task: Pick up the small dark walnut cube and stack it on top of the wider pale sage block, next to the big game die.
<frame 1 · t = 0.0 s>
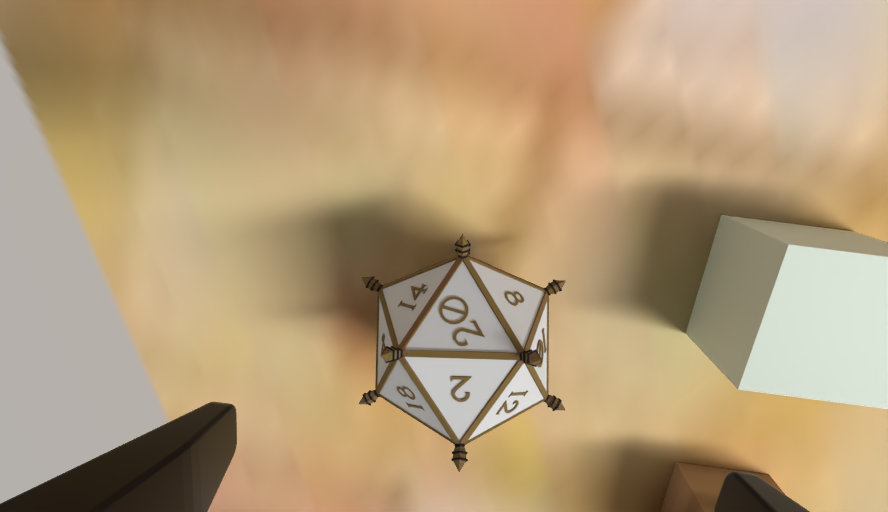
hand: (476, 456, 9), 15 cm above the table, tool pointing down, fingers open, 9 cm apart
walnut block: (708, 503, 27), on the table
game die: (463, 302, 24), on the table
sage block: (764, 283, 23), on the table
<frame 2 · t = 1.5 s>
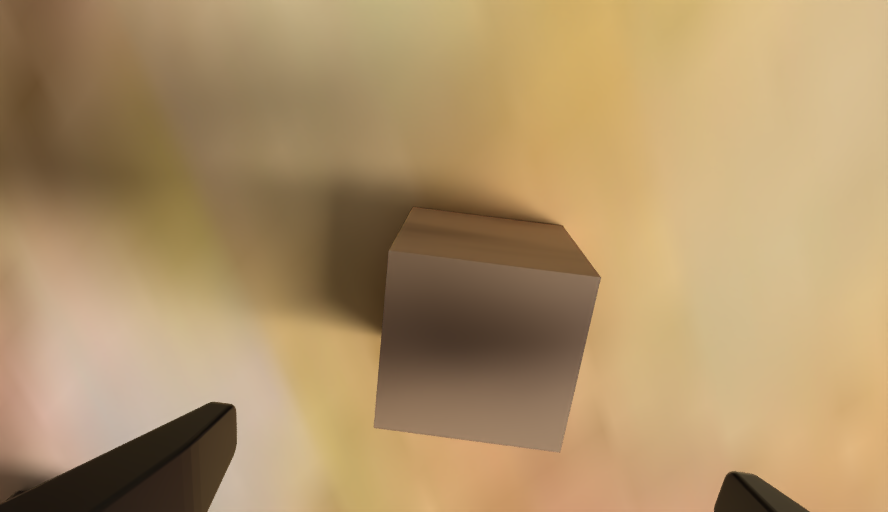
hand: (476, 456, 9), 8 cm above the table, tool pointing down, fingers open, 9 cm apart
walnut block: (477, 285, 17), on the table
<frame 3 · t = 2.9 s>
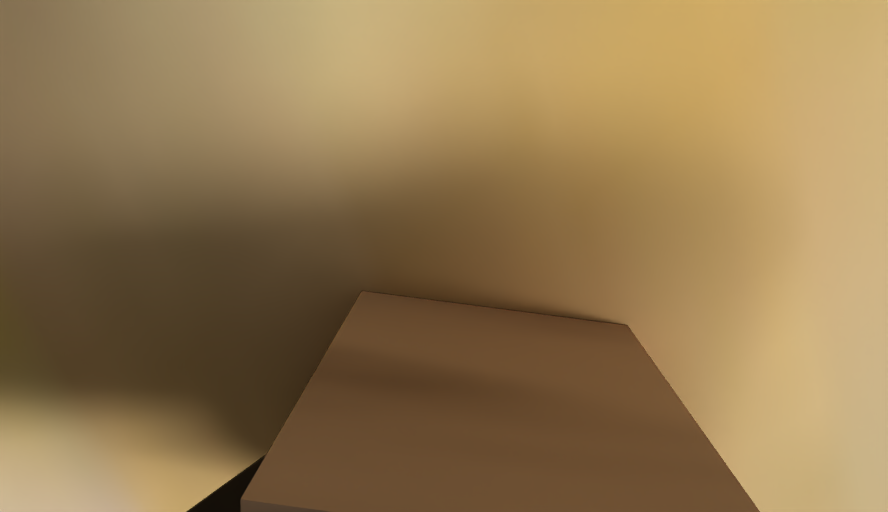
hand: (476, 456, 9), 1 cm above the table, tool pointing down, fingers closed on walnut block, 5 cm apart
walnut block: (475, 420, 10), on the table, touching gripper
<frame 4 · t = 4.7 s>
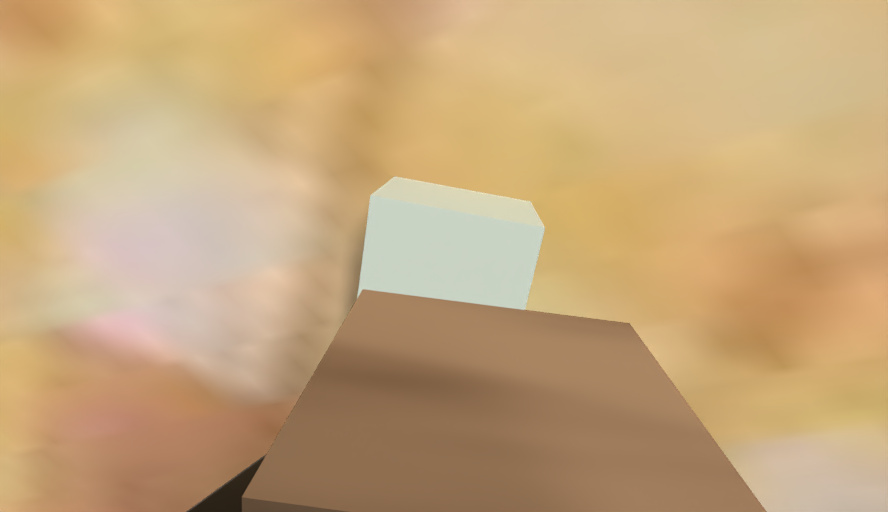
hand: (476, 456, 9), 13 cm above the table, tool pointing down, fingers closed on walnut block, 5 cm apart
walnut block: (477, 419, 10), point 12 cm above the table, touching gripper
sage block: (450, 253, 22), on the table
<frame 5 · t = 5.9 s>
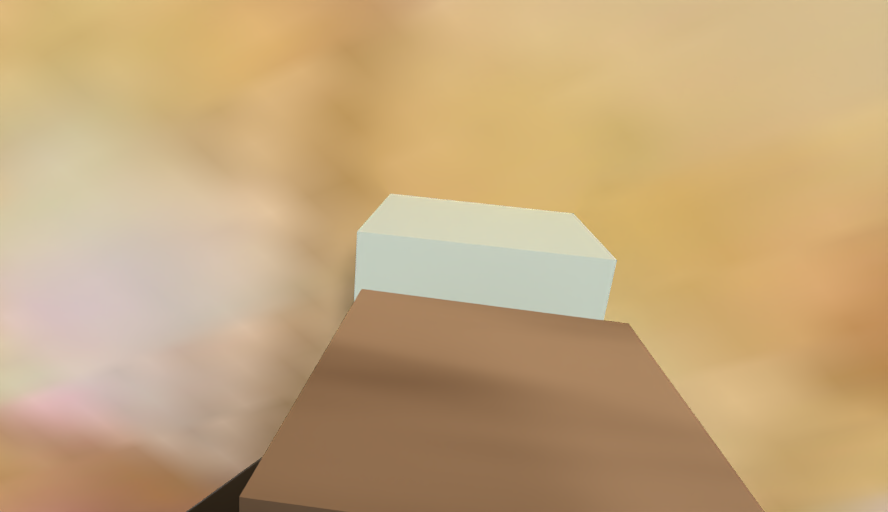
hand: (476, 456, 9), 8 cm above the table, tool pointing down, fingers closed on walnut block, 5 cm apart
walnut block: (476, 419, 10), point 7 cm above the table, touching gripper
sage block: (470, 287, 17), on the table
when the fingers open (7 cm above the table, at t = 6.6 s): walnut block drops 1 cm, resting on sage block.
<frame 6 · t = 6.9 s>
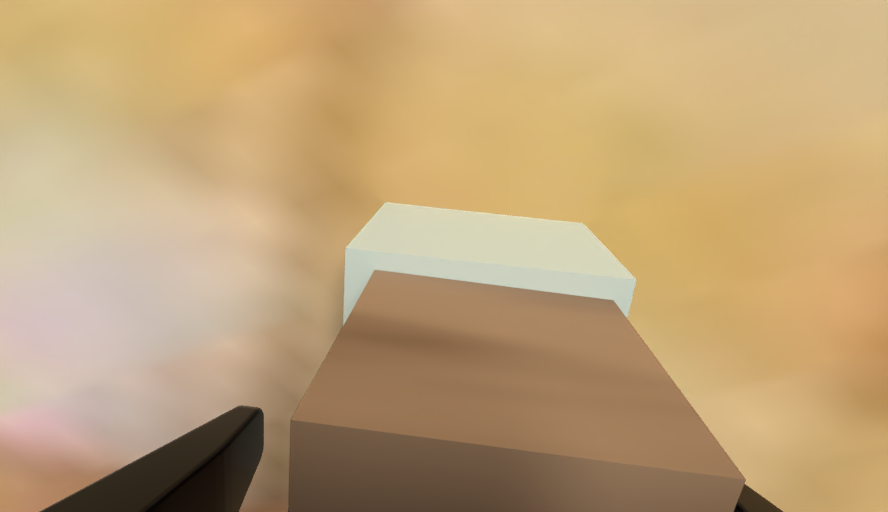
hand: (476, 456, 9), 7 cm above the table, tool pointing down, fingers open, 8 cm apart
walnut block: (477, 388, 11), point 5 cm above the table, touching sage block
sage block: (472, 302, 16), on the table, touching walnut block
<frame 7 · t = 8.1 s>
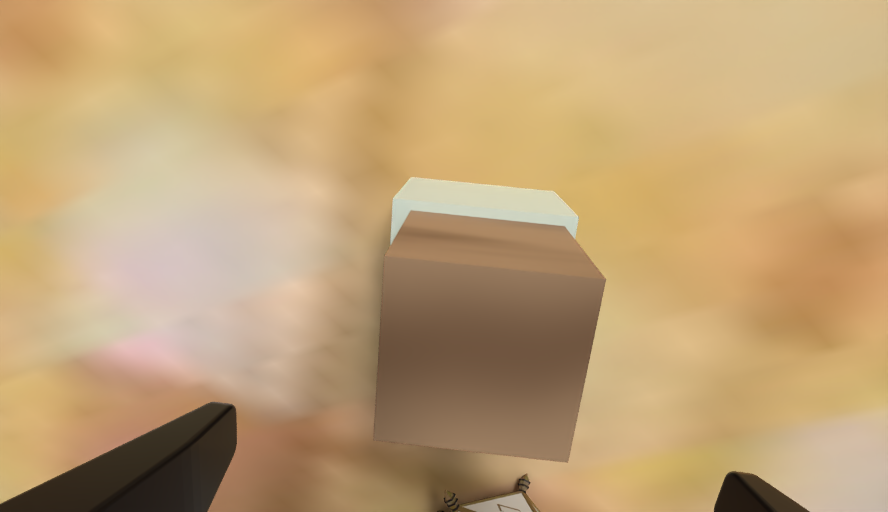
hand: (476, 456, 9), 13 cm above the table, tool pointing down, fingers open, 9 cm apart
walnut block: (478, 289, 16), point 5 cm above the table, touching sage block
game die: (494, 510, 25), on the table
sage block: (474, 251, 21), on the table, touching walnut block
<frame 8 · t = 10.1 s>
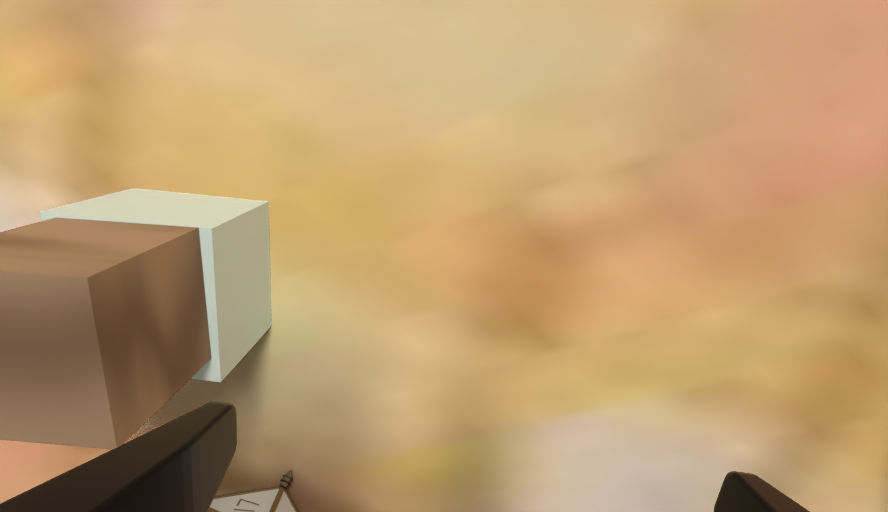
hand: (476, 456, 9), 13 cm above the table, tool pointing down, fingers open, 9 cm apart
walnut block: (136, 290, 17), point 5 cm above the table, touching sage block
game die: (270, 505, 26), on the table
sage block: (207, 258, 22), on the table, touching walnut block
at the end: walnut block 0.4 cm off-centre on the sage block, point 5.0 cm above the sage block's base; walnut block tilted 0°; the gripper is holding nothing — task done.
